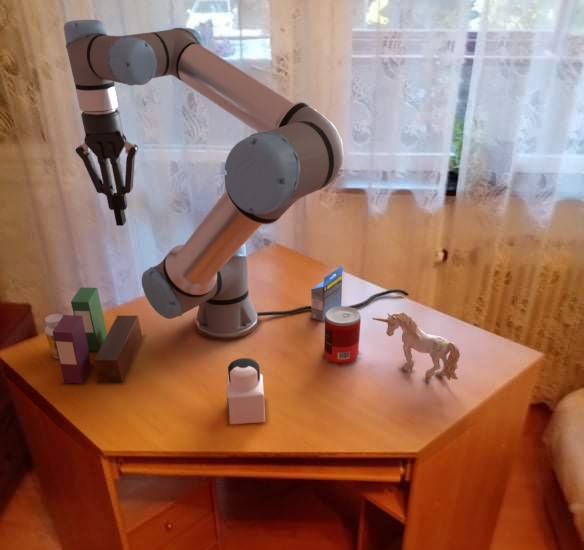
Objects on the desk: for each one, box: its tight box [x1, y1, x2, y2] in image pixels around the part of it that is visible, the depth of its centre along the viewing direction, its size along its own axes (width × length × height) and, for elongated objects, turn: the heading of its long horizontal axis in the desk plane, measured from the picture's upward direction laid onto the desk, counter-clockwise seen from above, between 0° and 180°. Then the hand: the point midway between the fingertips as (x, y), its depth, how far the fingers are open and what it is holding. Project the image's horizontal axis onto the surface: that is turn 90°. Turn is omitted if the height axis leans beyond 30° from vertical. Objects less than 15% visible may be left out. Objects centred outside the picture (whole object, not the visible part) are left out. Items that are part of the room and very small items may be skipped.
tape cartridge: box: [310, 264, 344, 322], centre depth 149 cm, size 9×4×12 cm, turn 144°
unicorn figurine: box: [371, 311, 461, 381], centre depth 128 cm, size 7×20×13 cm, turn 68°
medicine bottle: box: [226, 357, 266, 425], centre depth 117 cm, size 7×7×12 cm
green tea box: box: [70, 286, 108, 352], centre depth 138 cm, size 4×7×13 cm, turn 179°
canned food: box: [323, 305, 362, 366], centre depth 134 cm, size 8×8×11 cm
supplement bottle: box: [44, 313, 64, 360], centre depth 136 cm, size 5×5×10 cm
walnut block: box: [93, 315, 143, 384], centre depth 135 cm, size 5×19×6 cm, turn 178°
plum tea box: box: [53, 314, 92, 384], centre depth 128 cm, size 4×7×13 cm, turn 179°
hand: (121, 223), depth 134 cm, fingers closed
